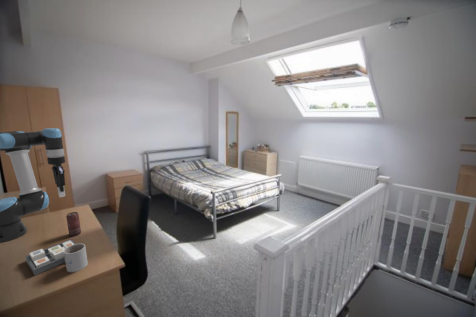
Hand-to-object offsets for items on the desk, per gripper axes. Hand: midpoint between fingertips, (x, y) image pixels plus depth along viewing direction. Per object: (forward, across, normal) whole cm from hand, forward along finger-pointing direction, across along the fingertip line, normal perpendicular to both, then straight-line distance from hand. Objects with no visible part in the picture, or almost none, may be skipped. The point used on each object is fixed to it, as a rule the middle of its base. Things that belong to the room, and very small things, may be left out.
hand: (62, 196), depth 126 cm
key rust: (+28, +17, -16) cm, 36 cm away
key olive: (+28, +9, -9) cm, 31 cm away
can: (+29, -6, +5) cm, 30 cm away
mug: (+29, +28, -5) cm, 40 cm away
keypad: (+28, +13, -10) cm, 33 cm away
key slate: (+26, +9, -16) cm, 32 cm away
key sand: (+26, +17, -9) cm, 32 cm away
